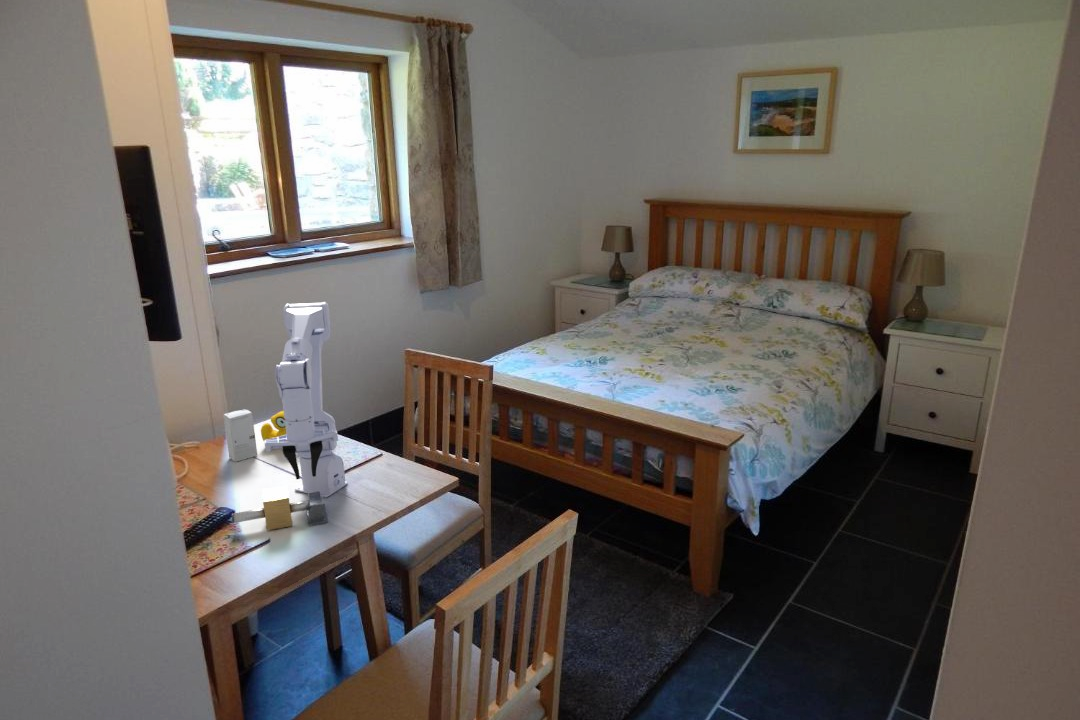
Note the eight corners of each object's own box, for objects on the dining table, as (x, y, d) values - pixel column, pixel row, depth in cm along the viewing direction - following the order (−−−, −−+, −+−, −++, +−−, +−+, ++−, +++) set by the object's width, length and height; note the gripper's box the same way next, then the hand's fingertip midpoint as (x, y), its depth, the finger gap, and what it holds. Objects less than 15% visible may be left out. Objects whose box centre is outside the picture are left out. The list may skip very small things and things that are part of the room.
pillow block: (325, 505, 160) (323, 488, 158) (328, 522, 152) (326, 504, 151) (306, 509, 158) (304, 491, 157) (308, 526, 151) (306, 508, 150)
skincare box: (235, 462, 182) (228, 418, 178) (228, 457, 185) (221, 414, 181) (258, 455, 186) (252, 412, 182) (251, 450, 189) (245, 407, 186)
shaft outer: (278, 512, 153) (276, 504, 152) (278, 516, 151) (277, 508, 151) (232, 520, 150) (231, 511, 149) (232, 525, 148) (231, 516, 148)
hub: (290, 512, 156) (287, 485, 154) (292, 525, 151) (288, 497, 149) (266, 516, 154) (262, 489, 153) (267, 530, 149) (263, 502, 147)
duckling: (308, 442, 194) (304, 408, 191) (300, 451, 188) (296, 415, 185) (268, 441, 194) (263, 407, 192) (259, 450, 189) (254, 415, 186)
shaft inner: (321, 504, 156) (321, 496, 156) (322, 508, 154) (321, 500, 154) (277, 512, 153) (276, 504, 152) (277, 516, 151) (276, 508, 151)
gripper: (261, 428, 142) (270, 490, 146) (336, 418, 147) (342, 477, 151) (261, 416, 148) (269, 475, 152) (333, 406, 153) (339, 464, 157)
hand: (306, 475), depth 152 cm, fingers open, 3 cm apart
